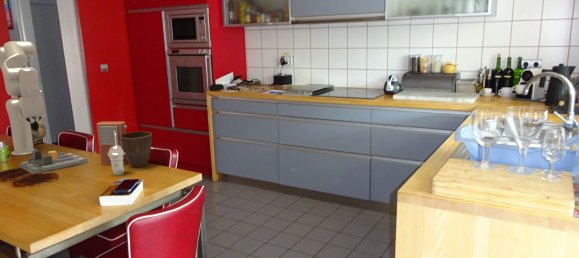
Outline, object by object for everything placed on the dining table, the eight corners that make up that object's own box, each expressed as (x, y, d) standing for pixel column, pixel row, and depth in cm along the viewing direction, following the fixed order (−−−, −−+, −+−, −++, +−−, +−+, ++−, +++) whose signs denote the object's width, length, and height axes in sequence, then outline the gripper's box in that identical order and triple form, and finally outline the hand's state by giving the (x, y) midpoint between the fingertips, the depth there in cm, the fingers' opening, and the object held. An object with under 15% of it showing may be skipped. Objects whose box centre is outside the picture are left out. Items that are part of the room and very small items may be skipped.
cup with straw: (106, 176, 205) (101, 134, 201) (114, 170, 214) (110, 130, 210) (123, 176, 204) (119, 134, 200) (131, 170, 213) (127, 130, 209)
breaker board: (19, 166, 224) (17, 153, 222) (71, 156, 242) (70, 143, 241) (33, 174, 209) (31, 160, 208) (88, 162, 228) (86, 150, 226)
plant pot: (144, 170, 213) (142, 138, 210) (117, 169, 216) (114, 137, 213) (159, 162, 227) (157, 132, 224) (133, 160, 230) (130, 131, 227)
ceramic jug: (13, 145, 270) (6, 97, 264) (34, 140, 284) (27, 94, 278) (34, 147, 265) (28, 98, 259) (55, 141, 279) (49, 94, 273)
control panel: (104, 161, 231) (131, 161, 229) (97, 164, 224) (125, 165, 223) (100, 121, 227) (127, 121, 225) (93, 123, 220) (121, 123, 218)
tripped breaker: (46, 161, 225) (45, 151, 224) (57, 159, 229) (55, 150, 228) (49, 162, 222) (48, 153, 221) (59, 160, 226) (58, 151, 225)
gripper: (44, 91, 222) (48, 127, 225) (10, 94, 211) (15, 132, 215) (49, 92, 217) (54, 129, 220) (15, 95, 206) (20, 134, 209)
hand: (35, 130), depth 217 cm, fingers closed
